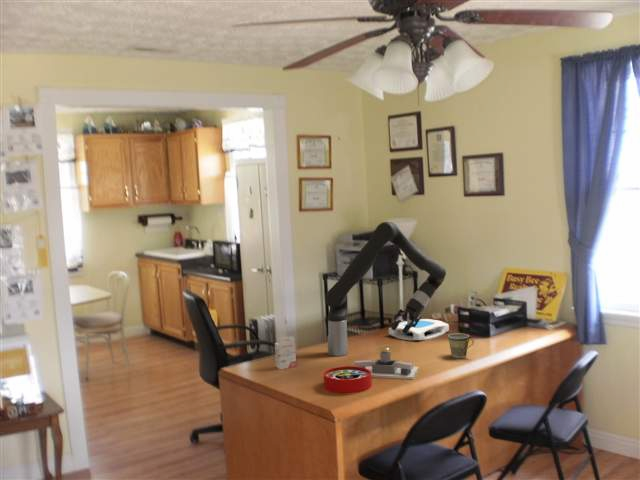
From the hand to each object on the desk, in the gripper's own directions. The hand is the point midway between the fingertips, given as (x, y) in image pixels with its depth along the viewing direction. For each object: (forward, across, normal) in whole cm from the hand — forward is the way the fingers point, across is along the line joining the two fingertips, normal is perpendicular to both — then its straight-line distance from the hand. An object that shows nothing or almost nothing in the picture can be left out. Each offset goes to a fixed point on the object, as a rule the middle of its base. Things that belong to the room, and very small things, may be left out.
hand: (398, 331), depth 297 cm
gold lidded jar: (+17, 0, +6) cm, 18 cm away
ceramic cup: (-13, 0, +39) cm, 41 cm away
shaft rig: (+18, 0, +7) cm, 19 cm away
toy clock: (+35, +7, -9) cm, 37 cm away
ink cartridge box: (+41, -35, -16) cm, 56 cm away
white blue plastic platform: (-21, -49, +48) cm, 72 cm away
